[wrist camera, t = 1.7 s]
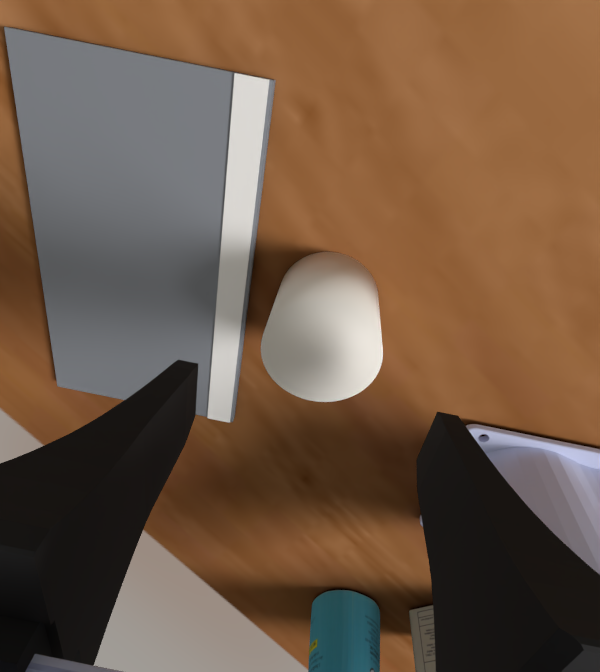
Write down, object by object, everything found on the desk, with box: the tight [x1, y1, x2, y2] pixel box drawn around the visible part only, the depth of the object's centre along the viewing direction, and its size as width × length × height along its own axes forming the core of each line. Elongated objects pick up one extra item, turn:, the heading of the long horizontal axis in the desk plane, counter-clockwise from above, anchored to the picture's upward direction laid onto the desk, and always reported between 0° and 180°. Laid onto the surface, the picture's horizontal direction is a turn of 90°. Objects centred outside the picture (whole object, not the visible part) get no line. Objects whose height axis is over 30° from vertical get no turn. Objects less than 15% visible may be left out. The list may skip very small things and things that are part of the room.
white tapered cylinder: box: [261, 252, 383, 402], centre depth 18 cm, size 4×4×4 cm
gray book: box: [4, 27, 275, 423], centre depth 20 cm, size 10×16×1 cm, turn 171°
